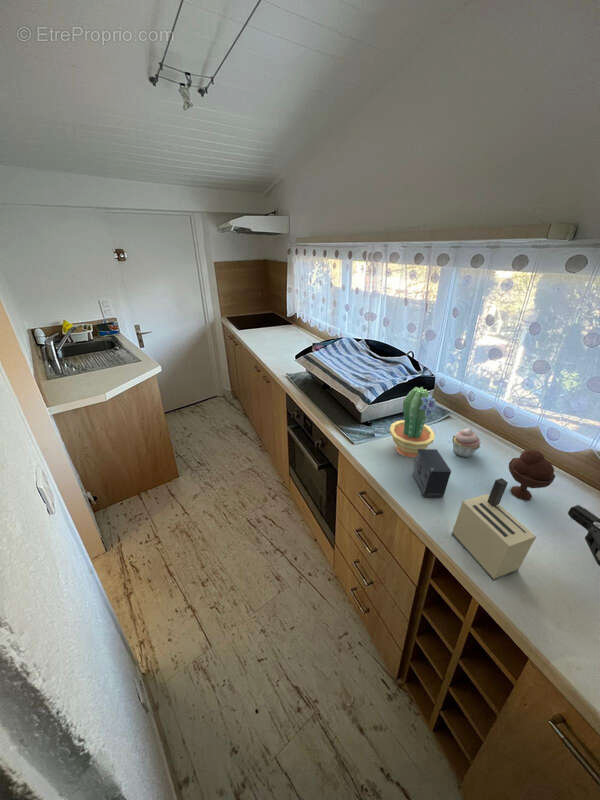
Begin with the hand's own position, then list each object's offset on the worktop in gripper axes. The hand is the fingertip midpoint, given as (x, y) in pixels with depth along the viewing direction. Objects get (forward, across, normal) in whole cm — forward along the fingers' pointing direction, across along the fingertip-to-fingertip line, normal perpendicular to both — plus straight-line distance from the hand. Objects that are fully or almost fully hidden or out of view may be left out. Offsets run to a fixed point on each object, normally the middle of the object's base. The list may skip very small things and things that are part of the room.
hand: (572, 509), depth 57 cm
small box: (+33, +1, +24) cm, 41 cm away
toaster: (+10, +3, +24) cm, 26 cm away
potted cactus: (+50, -4, +24) cm, 56 cm away
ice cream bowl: (+21, -23, +24) cm, 40 cm away
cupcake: (+43, -22, +24) cm, 54 cm away
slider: (+13, 0, +12) cm, 18 cm away
